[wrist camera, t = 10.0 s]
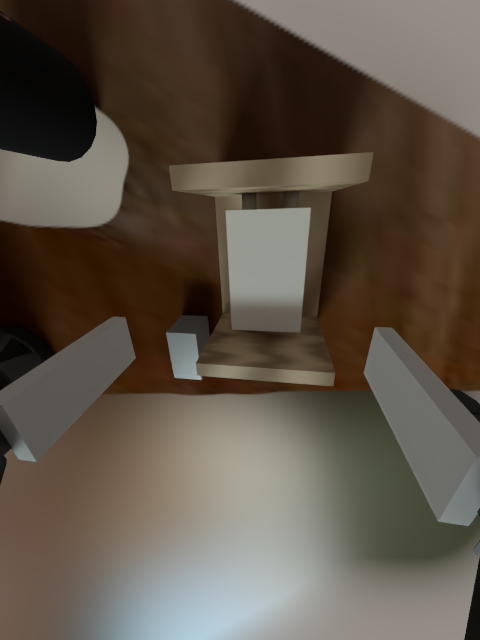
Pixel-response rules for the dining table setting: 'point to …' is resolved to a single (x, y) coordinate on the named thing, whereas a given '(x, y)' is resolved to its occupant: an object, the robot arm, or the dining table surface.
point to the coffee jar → (41, 98)
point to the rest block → (187, 344)
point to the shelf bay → (306, 192)
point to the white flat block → (267, 267)
